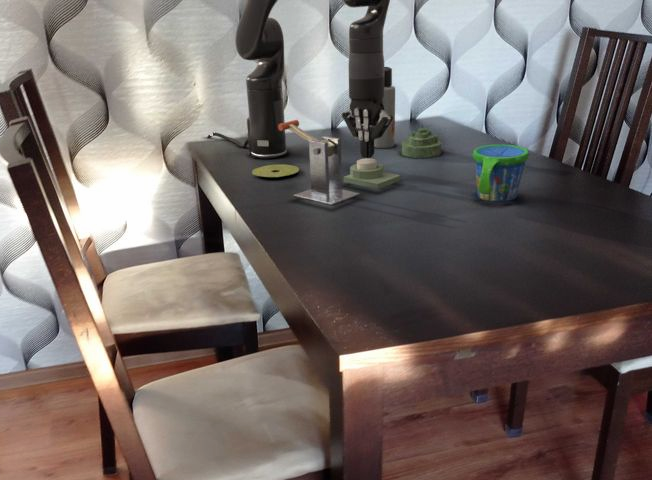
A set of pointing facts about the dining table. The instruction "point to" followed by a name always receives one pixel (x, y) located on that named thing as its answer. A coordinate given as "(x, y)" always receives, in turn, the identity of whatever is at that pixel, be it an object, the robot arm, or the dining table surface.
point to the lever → (303, 134)
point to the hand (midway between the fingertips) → (367, 157)
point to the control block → (371, 177)
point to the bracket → (326, 174)
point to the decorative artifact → (421, 144)
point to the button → (366, 164)
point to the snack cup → (499, 171)
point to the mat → (275, 170)
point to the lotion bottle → (388, 111)
